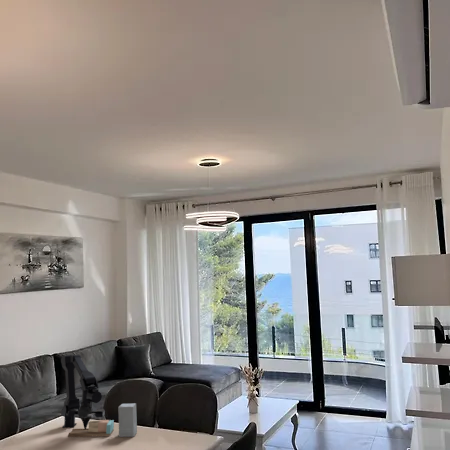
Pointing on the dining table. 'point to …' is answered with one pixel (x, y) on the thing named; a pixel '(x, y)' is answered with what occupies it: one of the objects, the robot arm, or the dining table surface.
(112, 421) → the teal end stop
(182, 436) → the dining table surface
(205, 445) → the dining table surface
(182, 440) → the dining table surface
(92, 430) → the beige slanted block
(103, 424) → the block
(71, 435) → the channel
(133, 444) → the dining table surface
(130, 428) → the skincare box
